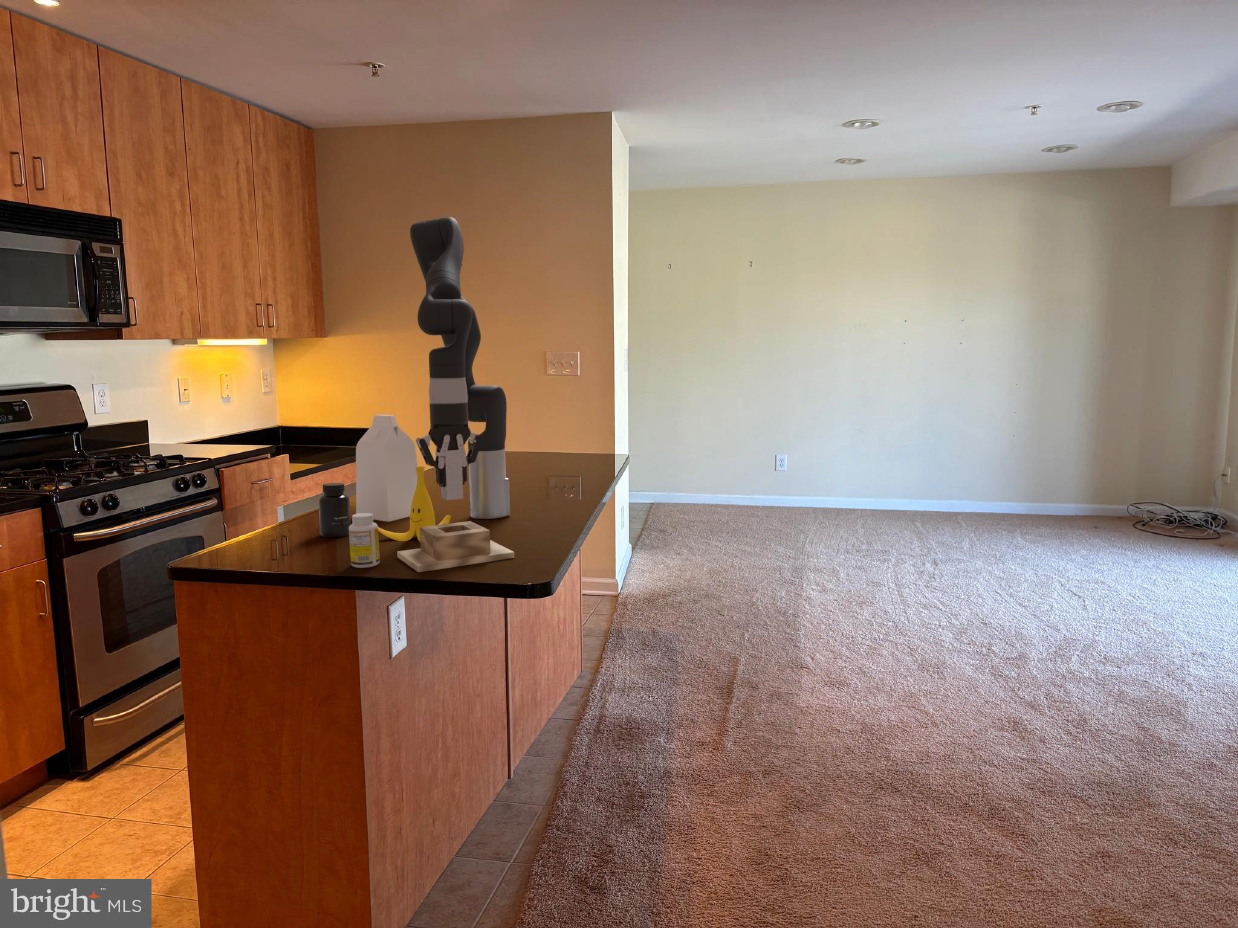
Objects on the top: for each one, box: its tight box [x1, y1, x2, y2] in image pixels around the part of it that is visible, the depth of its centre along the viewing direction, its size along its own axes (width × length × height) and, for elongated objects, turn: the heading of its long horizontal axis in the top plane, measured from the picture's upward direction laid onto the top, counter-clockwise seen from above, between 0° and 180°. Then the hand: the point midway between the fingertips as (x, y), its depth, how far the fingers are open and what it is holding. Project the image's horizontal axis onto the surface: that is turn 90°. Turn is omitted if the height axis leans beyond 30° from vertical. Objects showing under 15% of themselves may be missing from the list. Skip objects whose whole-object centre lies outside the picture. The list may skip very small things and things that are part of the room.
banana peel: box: [378, 465, 452, 543], centre depth 190 cm, size 16×19×17 cm
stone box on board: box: [396, 520, 515, 573], centre depth 170 cm, size 20×14×6 cm
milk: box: [355, 414, 419, 522], centre depth 213 cm, size 12×12×26 cm
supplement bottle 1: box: [318, 482, 352, 539], centre depth 192 cm, size 7×7×12 cm
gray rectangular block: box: [440, 449, 464, 501], centre depth 168 cm, size 3×3×10 cm
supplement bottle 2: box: [348, 513, 381, 569], centre depth 165 cm, size 6×6×10 cm
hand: (451, 485), depth 168 cm, fingers closed on gray rectangular block, 3 cm apart
